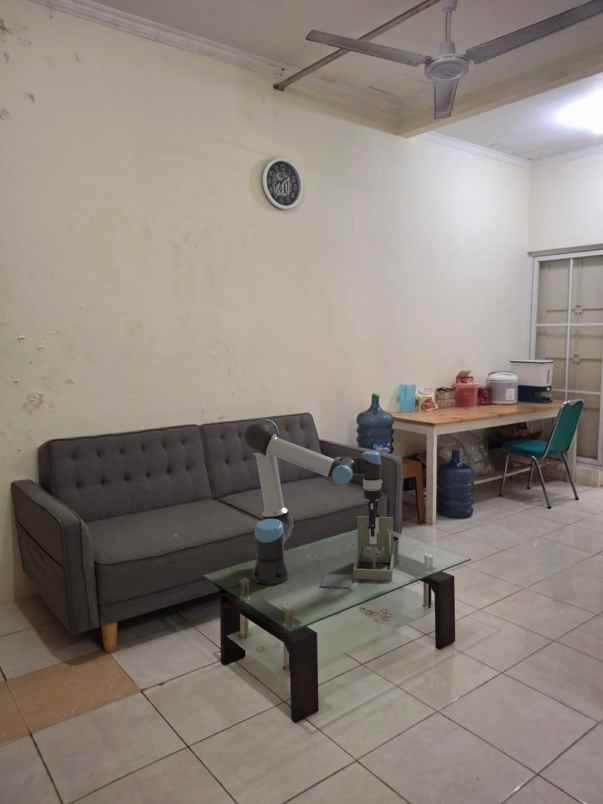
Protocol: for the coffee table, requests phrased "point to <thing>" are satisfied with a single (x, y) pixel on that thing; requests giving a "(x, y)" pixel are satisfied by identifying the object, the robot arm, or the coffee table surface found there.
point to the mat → (336, 581)
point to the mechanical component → (373, 554)
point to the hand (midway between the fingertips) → (374, 538)
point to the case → (383, 541)
